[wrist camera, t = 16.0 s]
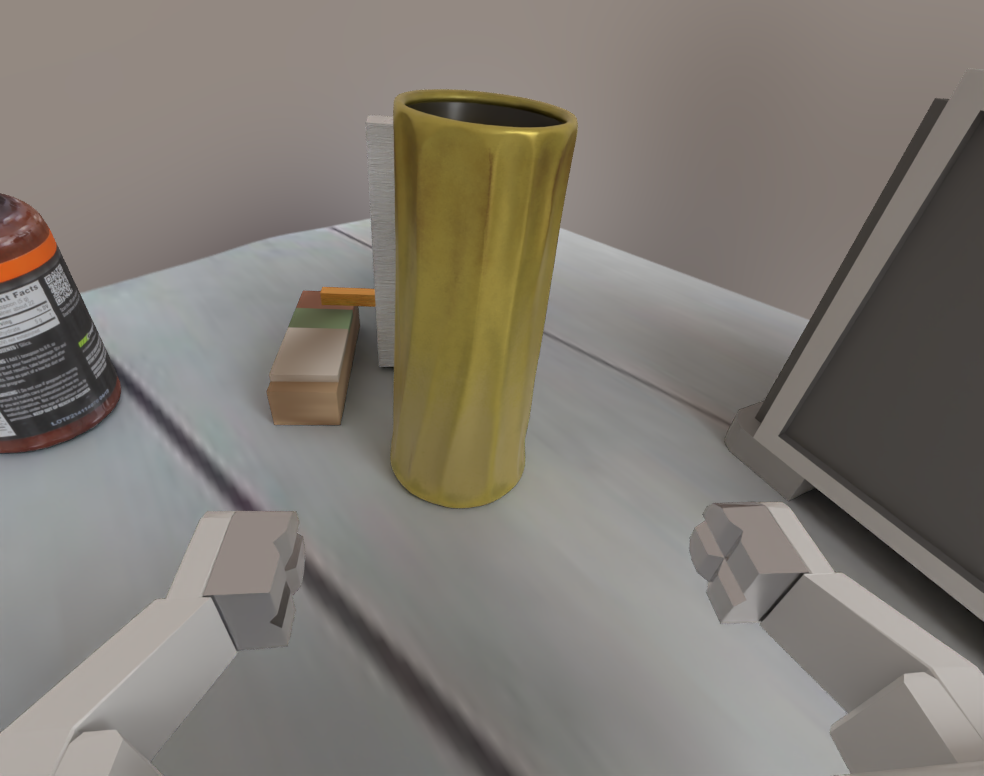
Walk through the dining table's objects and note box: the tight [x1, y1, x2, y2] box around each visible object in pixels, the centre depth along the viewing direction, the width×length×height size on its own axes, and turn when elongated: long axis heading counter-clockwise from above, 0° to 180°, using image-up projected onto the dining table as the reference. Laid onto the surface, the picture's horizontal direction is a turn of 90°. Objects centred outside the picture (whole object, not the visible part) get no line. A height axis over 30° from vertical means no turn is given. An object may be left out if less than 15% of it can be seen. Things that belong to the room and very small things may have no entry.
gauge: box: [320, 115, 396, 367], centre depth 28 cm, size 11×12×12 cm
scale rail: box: [267, 291, 360, 425], centre depth 26 cm, size 3×9×2 cm, turn 6°
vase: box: [390, 89, 578, 508], centre depth 18 cm, size 6×6×14 cm
